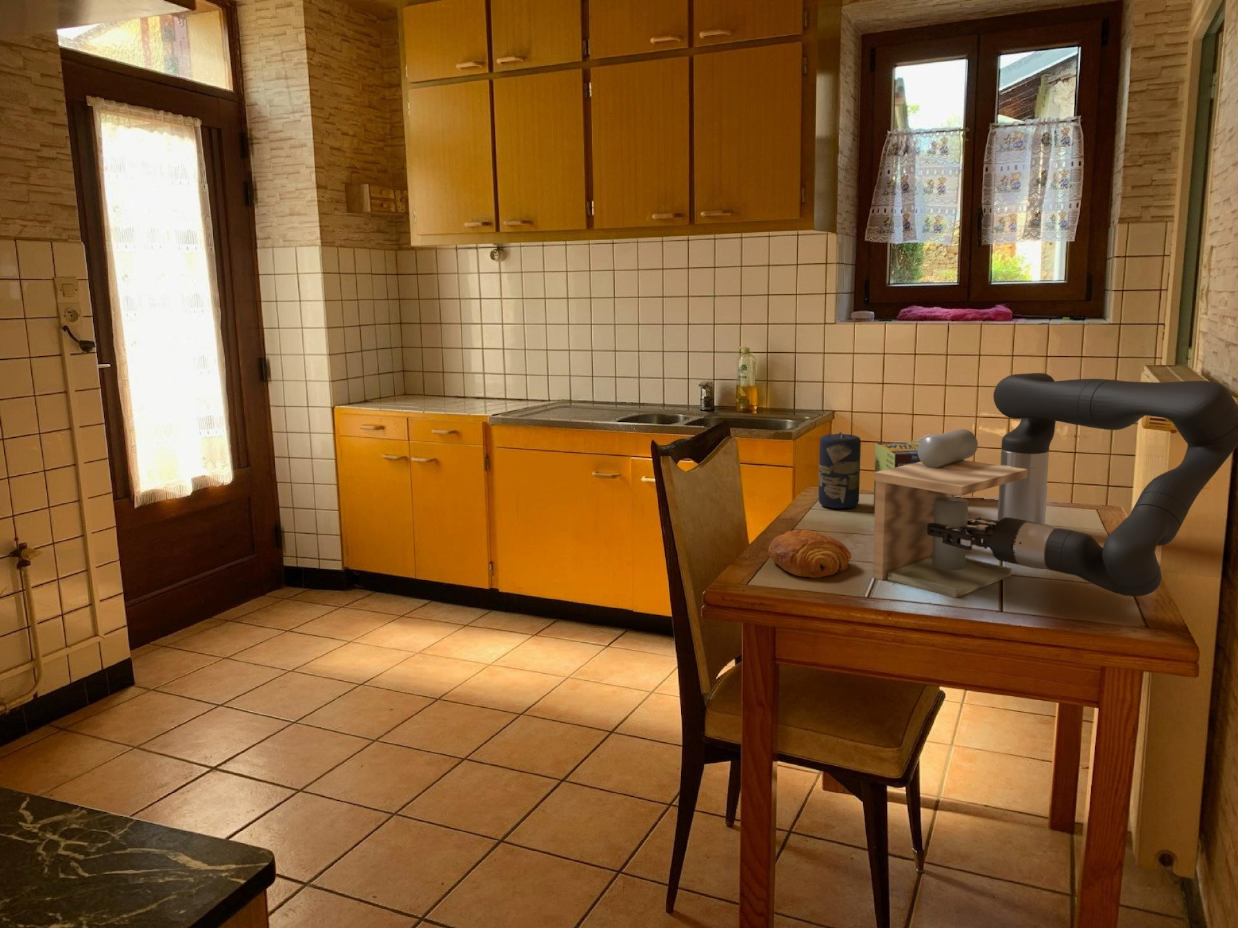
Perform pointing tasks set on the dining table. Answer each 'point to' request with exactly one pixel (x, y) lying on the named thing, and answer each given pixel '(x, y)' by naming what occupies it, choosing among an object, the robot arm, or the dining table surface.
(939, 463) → the grey lying cylinder
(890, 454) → the protein box
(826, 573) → the croissant
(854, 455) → the canister
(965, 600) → the dining table surface
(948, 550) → the grey rounded cylinder
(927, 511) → the wooden shelf stand
